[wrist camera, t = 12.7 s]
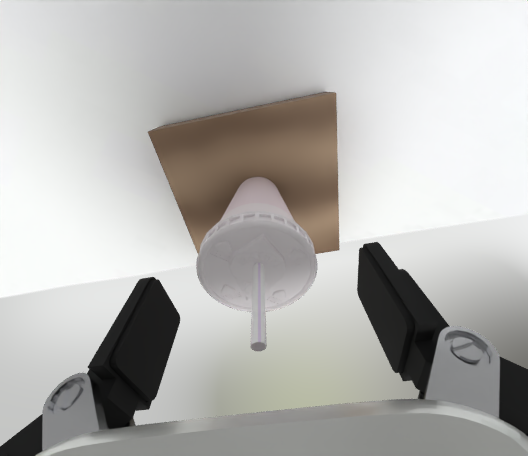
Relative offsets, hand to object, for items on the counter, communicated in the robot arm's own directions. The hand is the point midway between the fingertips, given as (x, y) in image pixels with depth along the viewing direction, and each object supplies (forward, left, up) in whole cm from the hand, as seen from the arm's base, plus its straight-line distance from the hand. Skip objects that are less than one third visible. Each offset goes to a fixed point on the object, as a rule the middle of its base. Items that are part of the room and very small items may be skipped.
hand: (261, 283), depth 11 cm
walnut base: (+1, 0, -14) cm, 14 cm away
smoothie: (0, 0, -11) cm, 11 cm away
